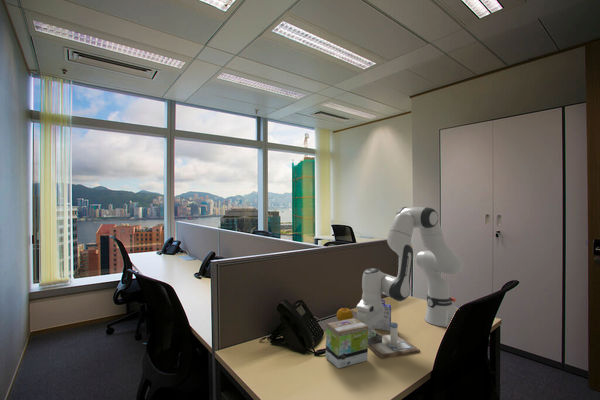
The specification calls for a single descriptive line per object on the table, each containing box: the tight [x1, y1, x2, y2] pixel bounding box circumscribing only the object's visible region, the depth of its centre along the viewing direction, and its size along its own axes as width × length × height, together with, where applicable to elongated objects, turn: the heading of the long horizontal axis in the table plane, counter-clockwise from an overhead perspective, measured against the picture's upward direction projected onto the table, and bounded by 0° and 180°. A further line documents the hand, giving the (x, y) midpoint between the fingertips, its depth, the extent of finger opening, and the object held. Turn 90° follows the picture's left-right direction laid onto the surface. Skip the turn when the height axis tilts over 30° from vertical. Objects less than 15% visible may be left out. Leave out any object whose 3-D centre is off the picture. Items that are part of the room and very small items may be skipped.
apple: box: [336, 307, 354, 321], centre depth 155 cm, size 9×9×9 cm
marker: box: [389, 321, 398, 349], centre depth 129 cm, size 3×3×10 cm
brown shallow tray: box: [368, 329, 421, 360], centre depth 132 cm, size 20×18×4 cm
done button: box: [368, 331, 377, 337], centre depth 135 cm, size 4×4×3 cm
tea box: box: [325, 317, 369, 369], centre depth 121 cm, size 15×10×15 cm
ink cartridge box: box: [374, 299, 392, 332], centre depth 152 cm, size 10×6×14 cm, turn 66°
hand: (371, 332), depth 135 cm, fingers closed, pressing on done button
